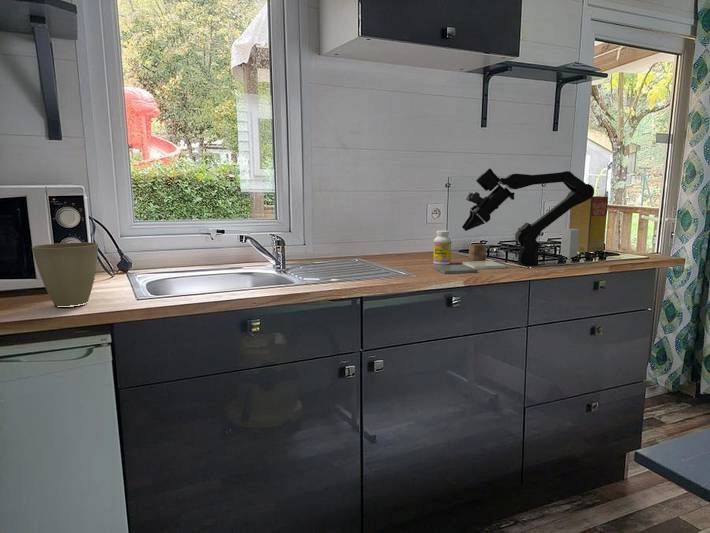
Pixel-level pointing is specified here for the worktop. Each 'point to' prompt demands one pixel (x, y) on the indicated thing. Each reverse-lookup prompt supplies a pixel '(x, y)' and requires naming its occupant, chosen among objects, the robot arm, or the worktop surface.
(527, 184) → the robot arm
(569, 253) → the skincare box
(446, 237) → the supplement bottle
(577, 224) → the food packaging
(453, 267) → the slate tile
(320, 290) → the worktop surface
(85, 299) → the plant pot
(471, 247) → the walnut block
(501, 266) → the off-white tile
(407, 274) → the worktop surface
